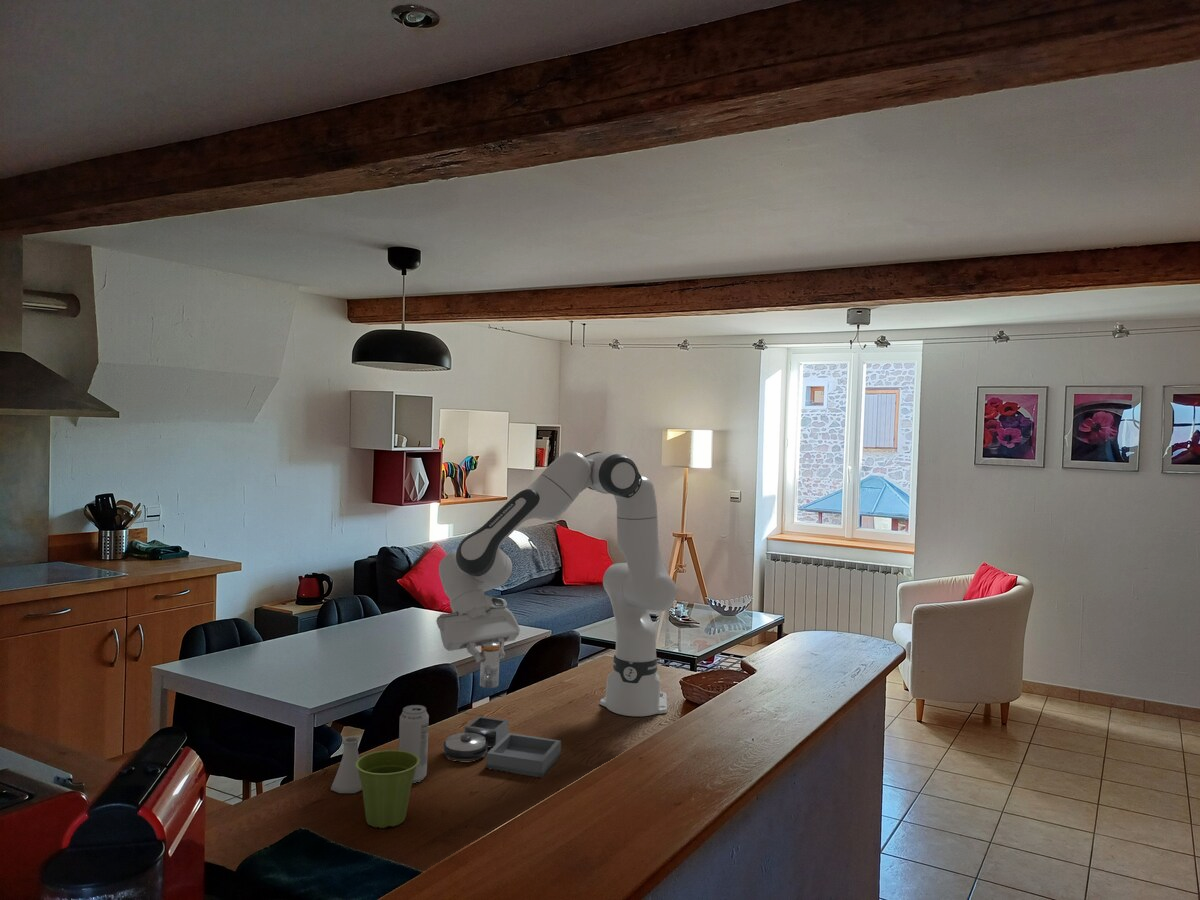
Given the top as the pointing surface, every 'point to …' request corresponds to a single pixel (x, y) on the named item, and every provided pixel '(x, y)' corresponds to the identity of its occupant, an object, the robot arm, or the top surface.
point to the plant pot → (386, 785)
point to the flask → (348, 769)
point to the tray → (524, 755)
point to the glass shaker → (490, 664)
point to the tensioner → (475, 739)
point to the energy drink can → (415, 736)
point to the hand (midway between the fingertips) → (491, 659)
